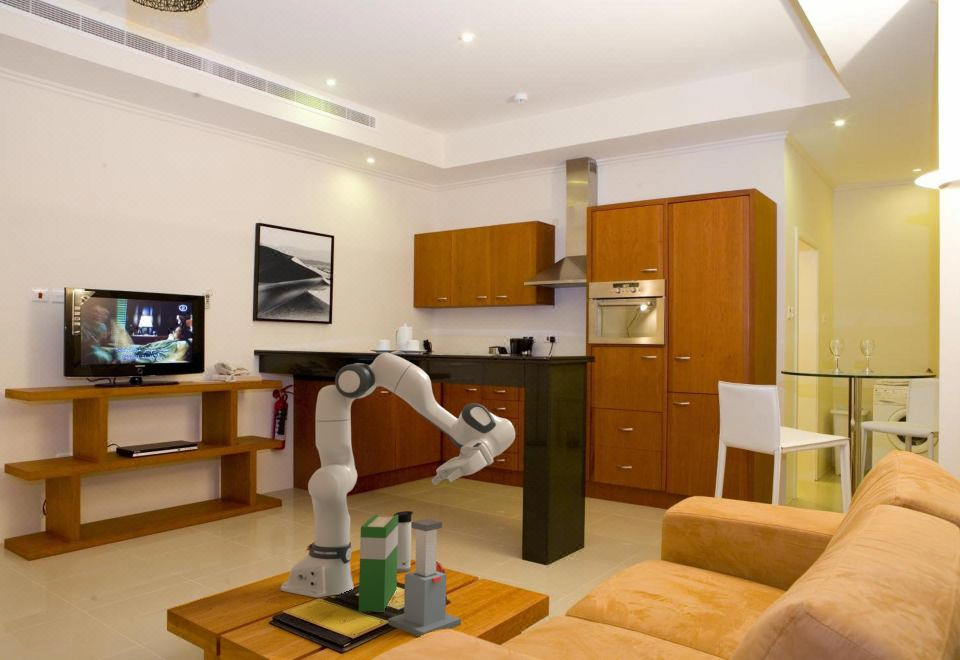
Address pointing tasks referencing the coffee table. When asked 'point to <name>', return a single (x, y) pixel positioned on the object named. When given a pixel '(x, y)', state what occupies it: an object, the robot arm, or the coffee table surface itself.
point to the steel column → (426, 546)
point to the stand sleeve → (424, 605)
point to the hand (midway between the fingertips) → (440, 481)
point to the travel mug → (404, 541)
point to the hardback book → (378, 562)
